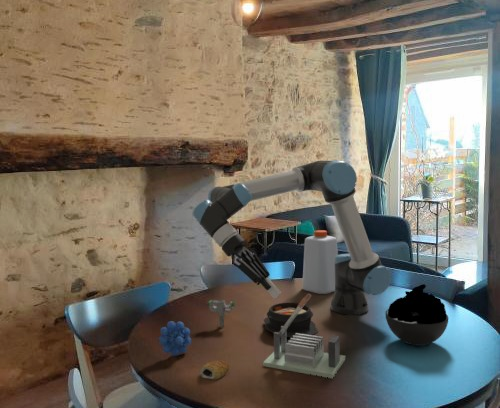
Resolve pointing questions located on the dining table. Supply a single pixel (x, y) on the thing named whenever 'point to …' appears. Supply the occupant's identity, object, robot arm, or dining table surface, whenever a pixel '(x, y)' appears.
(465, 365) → the dining table surface
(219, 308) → the mechanical component
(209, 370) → the pastry
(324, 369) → the circuit board
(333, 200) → the robot arm
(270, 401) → the dining table surface
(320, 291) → the plastic bottle
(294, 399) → the dining table surface
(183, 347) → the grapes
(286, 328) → the retention strap
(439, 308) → the coal bowl
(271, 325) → the casserole
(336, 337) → the heat sink
